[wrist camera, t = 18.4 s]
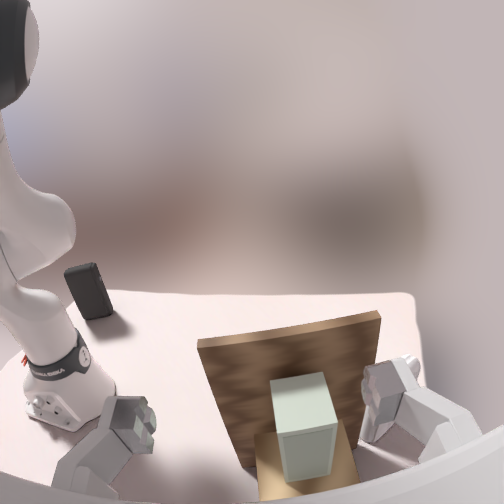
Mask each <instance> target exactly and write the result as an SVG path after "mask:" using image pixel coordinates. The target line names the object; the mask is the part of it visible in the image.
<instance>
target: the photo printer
mask: <svg viewBox="0 0 504 504" xmlns="http://www.w3.org/2000/svg"><path fill="white" fill-rule="evenodd" d="M402 357H403V358H404V359H405V361H406V363H407V364H408V366H409V368H410V370H411V372H412V373H413V375H414V377H415V379H416V380H417V378H418V375H419V372H420V363H419V360H418V359H417V358H416V357H413V356H411V355H410V354H407V355H404V356H402ZM368 411H369V406H368V405H366V410H365V414H364V419H363V423H362V427H361V431H360V435H359V436H360V438H361V439H362V440H364V441H366V442H375V441H377V440H378V439H379V438H380V437H381V436H382V435H383V434H384V433H385V432H386V431H387V430H388V429H389V428H390V427H391V426H392V425H393V424H394V423H395V422H394V421H391V422H387V423H383V424H380V425H376V426H373V424H372V421H371V419H370V416H369V413H368Z"/></svg>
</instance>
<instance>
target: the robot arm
mask: <svg viewBox="0 0 504 504" xmlns="http://www.w3.org/2000/svg"><path fill="white" fill-rule="evenodd" d="M38 49H39V31H38V25H37V22H36V19H35V16H34V14H33V12H32V11H31V9H30V3H29V1H27V0H0V321H1V322H2V323H3V324H4V325H5V326H6V327H7V328H8V330H9V331H10V332H11V333H12V335H13V336H14V338H15V339H16V341H17V342H18V343H19V345H20V346H21V348H22V349H23V351H24V352H25V356H24V358H23V360H22V362H23V361H24V360H25V361H24V364H23V366H25V365H26V363H27V361H28V364H29V368H30V369H29V371H28V373H27V375H26V377H25V380H24V384H23V391H24V394H25V396H26V397H27V400H26V407H25V408H26V413H27V414H28V416H30V417H33V418H35V419H38V420H40V421H43V422H45V423H48V424H51V425H53V426H56V427H59V428H62V429H65V430H68V431H71V432H75V431H77V430H78V429H80V428H81V427H82V426H83V425H84V424H85V423H86V422H88V421H90V420H92V419H94V418H96V417H98V416H99V415H101V416H100V419H99V423H98V426H97V429H96V428H94V429H93V430H92V431H90V432H89V433H88V434H87V435H86V436H85V437H84V438H83V439H82V440H81V441H80V442H79V443H78V444H77V445H75V446H74V447H73V448H72V449H71V450H70V451H69V452H68V453H67V454H66V455H65V456H64V457H62V458H61V459H60V460H59V461H58V464H57V467H56V471H55V474H54V477H53V481H52V485H51V487H50V486H46V485H43V484H39V483H36V482H32V481H29V480H25V479H22V478H19V477H16V476H13V475H10V474H7V473H4V472H2V471H0V504H159V503H145V502H135V501H126V500H118V499H119V494H118V493H117V492H116V491H115V490H114V489H113V488H111V487H110V486H109V485H110V483H111V482H112V481H113V480H114V478H115V477H116V476H117V474H118V473H119V472H120V471H121V469H122V468H123V467H124V465H125V464H126V463H127V462H128V460H129V459H130V458H131V456H132V455H133V454H152V451H153V444H154V439H153V437H152V436H151V435H152V434H153V433H154V432H155V431H156V417H155V414H154V411H153V410H152V408H150V407H148V406H147V404H148V401H147V400H146V398H145V397H144V396H114V394H115V384H114V381H113V379H112V378H111V377H110V376H109V375H108V374H107V373H106V372H105V371H104V370H103V369H102V368H101V366H100V365H99V363H98V362H96V361H95V359H94V358H93V357H92V355H91V354H90V353H89V351H88V348H87V346H86V344H85V342H84V340H83V338H82V336H81V334H80V333H79V331H78V330H77V329H76V328H75V327H74V326H73V324H72V322H71V320H70V318H69V316H68V314H67V312H66V310H65V308H64V306H63V304H62V302H61V300H60V299H59V298H58V297H57V296H56V295H55V294H53V293H51V292H48V291H46V290H41V289H40V290H39V289H27V288H24V287H21V286H20V285H18V284H17V283H16V282H17V281H18V280H20V279H22V278H24V277H26V276H28V275H29V274H32V273H34V272H35V271H38V270H40V269H42V268H44V267H46V266H48V265H50V264H52V263H53V262H54V261H56V260H57V259H58V258H60V257H61V256H62V255H64V254H65V253H66V252H67V251H69V250H70V249H71V248H72V246H73V244H74V241H75V236H76V223H75V219H74V215H73V213H72V211H71V209H70V208H69V206H68V205H67V204H66V202H64V201H63V200H62V199H61V198H59V197H58V196H56V195H53V194H47V193H43V192H39V191H37V190H35V189H33V188H31V187H30V186H28V185H27V184H26V183H25V182H24V181H23V180H22V179H21V178H20V176H19V175H18V173H17V171H16V169H15V166H14V163H13V161H12V158H11V154H10V151H9V147H8V143H7V139H6V134H5V129H4V124H3V119H2V115H1V109H3V108H5V107H6V106H8V105H10V104H11V103H13V102H14V101H16V100H17V99H18V98H19V97H20V96H21V94H22V93H23V92H24V91H25V89H26V88H27V87H28V85H29V83H30V76H31V74H32V72H33V69H34V66H35V63H36V59H37V55H38ZM22 362H21V363H22ZM363 375H364V377H365V378H364V379H363V380H362V382H361V392H362V397H363V400H364V403H365V404H366V405H368V406H369V411H368V413H369V416H370V419H371V421H372V424H373V426H376V425H380V424H383V423H387V422H391V421H394V422H395V423H396V424H398V425H399V426H400V427H402V428H403V429H404V430H406V431H407V432H408V433H409V434H411V435H412V436H413V437H415V438H416V439H417V440H419V441H420V442H421V443H423V444H424V445H425V448H424V450H423V451H422V453H421V455H420V456H419V458H418V460H419V463H420V464H418V465H415V466H413V467H410V468H407V469H404V470H401V471H398V472H395V473H392V474H389V475H386V476H383V477H380V478H376V479H373V480H369V481H366V482H362V483H359V484H355V485H351V486H347V487H343V488H338V489H334V490H329V491H325V492H320V493H315V494H309V495H303V496H297V497H291V498H284V499H277V500H269V501H259V502H248V503H234V504H504V424H503V425H501V426H500V427H498V428H496V429H494V430H492V431H490V432H488V433H487V434H485V435H483V434H482V432H481V430H480V428H479V427H478V425H477V423H476V421H475V420H474V418H473V416H472V414H471V413H470V411H469V410H466V409H465V408H463V407H461V406H459V405H457V404H455V403H453V402H452V401H450V400H448V399H446V398H444V397H443V396H440V395H439V394H437V393H435V392H433V391H431V390H430V389H428V388H426V387H424V386H422V387H420V386H419V384H418V382H417V380H416V379H415V377H414V375H413V373H412V372H411V370H410V368H409V366H408V364H407V363H406V361H405V359H404V358H403V357H399V358H396V359H392V360H387V361H384V362H380V363H376V364H373V365H369V366H365V367H364V369H363Z"/></svg>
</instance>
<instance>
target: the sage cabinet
mask: <svg viewBox="0 0 504 504" xmlns="http://www.w3.org/2000/svg"><path fill="white" fill-rule="evenodd" d="M270 386H271V393H272V400H273V408H274V415H275V422H276V429H277V436H278V442H279V448H280V454H281V460H282V466H283V472H284V478H285V483H288V482H295V481H301V480H306V479H312V478H317V477H322V476H327V475H330V473H331V467H332V461H333V455H334V448H335V441H336V433H337V426H338V421H337V417H336V414H335V411H334V407H333V404H332V401H331V397H330V394H329V391H328V387H327V384H326V381H325V377H324V374H323V372H317V373H312V374H307V375H301V376H295V377H289V378H283V379H277V380H270Z"/></svg>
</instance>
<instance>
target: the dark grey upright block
mask: <svg viewBox="0 0 504 504" xmlns="http://www.w3.org/2000/svg"><path fill="white" fill-rule="evenodd" d="M64 277H65V280H66V282H67V285H68V287H69V289H70V291H71V294H72V296H73V298H74V300H75V303H76V305H77V307H78V309H79V311H80V313H81V315H82V317H83V318H84V319H86V320H88V319H94V318H99V317H104V316H109V315H110V314H112V312H113V307H112V304H111V301H110V299H109V296H108V294H107V291H106V288H105V286H104V283H103V281H102V278H101V275H100V273H99V270H98V267H97V265H96V263H88V264H84V265H80V266H76V267H72V268H68V269H67V270H66V271H65V273H64Z"/></svg>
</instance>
